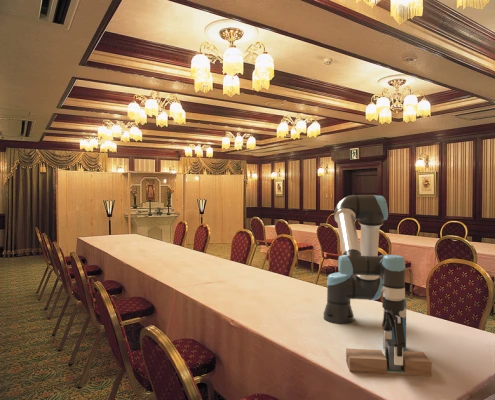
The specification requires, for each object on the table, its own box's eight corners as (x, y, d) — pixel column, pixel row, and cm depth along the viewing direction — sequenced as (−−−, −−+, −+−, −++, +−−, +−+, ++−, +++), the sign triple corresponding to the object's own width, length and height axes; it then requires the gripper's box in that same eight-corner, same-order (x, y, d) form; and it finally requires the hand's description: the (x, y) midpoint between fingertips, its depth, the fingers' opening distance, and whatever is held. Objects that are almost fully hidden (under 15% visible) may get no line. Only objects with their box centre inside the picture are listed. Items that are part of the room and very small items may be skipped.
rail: (346, 361, 138) (346, 348, 138) (422, 365, 135) (423, 352, 135) (349, 371, 130) (349, 357, 130) (431, 376, 127) (431, 362, 127)
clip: (384, 362, 136) (385, 338, 135) (395, 363, 135) (396, 339, 135) (389, 371, 129) (389, 346, 129) (401, 371, 129) (401, 346, 129)
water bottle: (400, 343, 155) (400, 285, 155) (410, 352, 146) (411, 291, 146) (378, 343, 155) (379, 285, 155) (388, 353, 146) (388, 291, 145)
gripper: (374, 288, 145) (374, 341, 145) (392, 308, 120) (392, 371, 120) (393, 289, 144) (393, 342, 144) (416, 309, 119) (415, 373, 119)
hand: (392, 356), depth 132 cm, fingers open, 13 cm apart
